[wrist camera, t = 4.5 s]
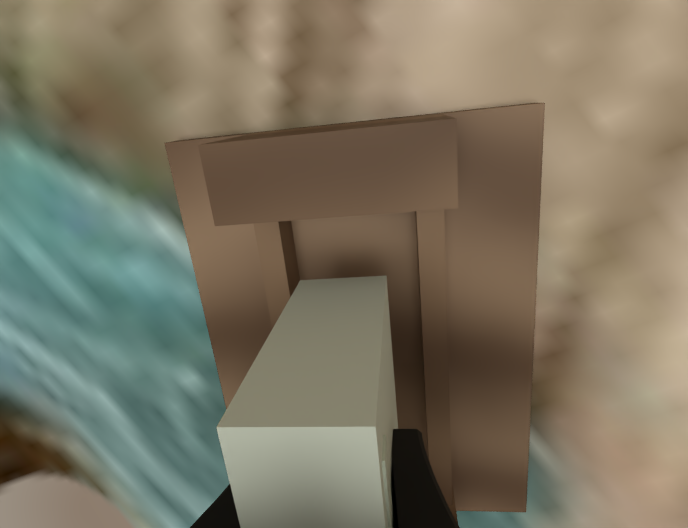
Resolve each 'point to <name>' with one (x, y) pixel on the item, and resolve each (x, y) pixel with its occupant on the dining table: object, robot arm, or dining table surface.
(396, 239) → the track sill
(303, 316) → the door panel
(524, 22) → the dining table surface
